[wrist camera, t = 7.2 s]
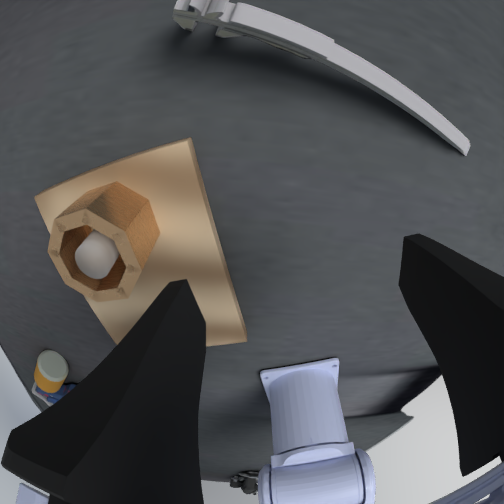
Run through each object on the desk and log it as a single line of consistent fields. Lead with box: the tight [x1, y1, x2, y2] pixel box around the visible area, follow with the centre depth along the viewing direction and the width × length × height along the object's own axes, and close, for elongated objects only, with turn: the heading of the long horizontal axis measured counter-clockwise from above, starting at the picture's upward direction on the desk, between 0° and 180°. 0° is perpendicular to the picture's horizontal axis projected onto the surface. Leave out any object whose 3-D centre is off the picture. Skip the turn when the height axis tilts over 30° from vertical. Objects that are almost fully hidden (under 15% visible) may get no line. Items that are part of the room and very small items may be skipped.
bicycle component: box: [230, 471, 259, 495], centre depth 53 cm, size 12×7×15 cm
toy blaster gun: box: [32, 350, 76, 406], centre depth 29 cm, size 21×4×15 cm
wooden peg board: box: [34, 137, 247, 346], centre depth 18 cm, size 16×12×5 cm
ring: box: [48, 181, 160, 302], centre depth 15 cm, size 6×6×4 cm
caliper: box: [172, 0, 471, 156], centre depth 11 cm, size 20×1×6 cm, turn 72°
